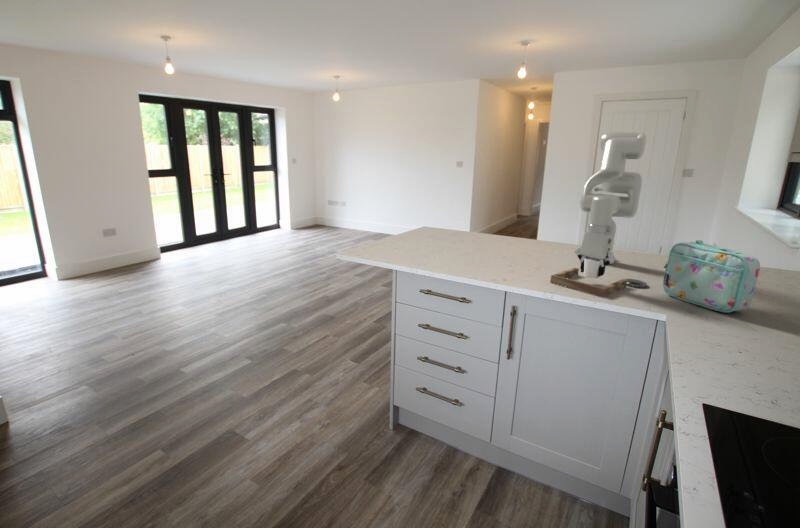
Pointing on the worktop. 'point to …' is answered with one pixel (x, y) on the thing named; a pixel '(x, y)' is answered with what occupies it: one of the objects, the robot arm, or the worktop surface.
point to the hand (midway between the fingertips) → (591, 273)
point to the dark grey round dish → (636, 283)
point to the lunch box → (711, 276)
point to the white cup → (591, 267)
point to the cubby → (599, 291)
